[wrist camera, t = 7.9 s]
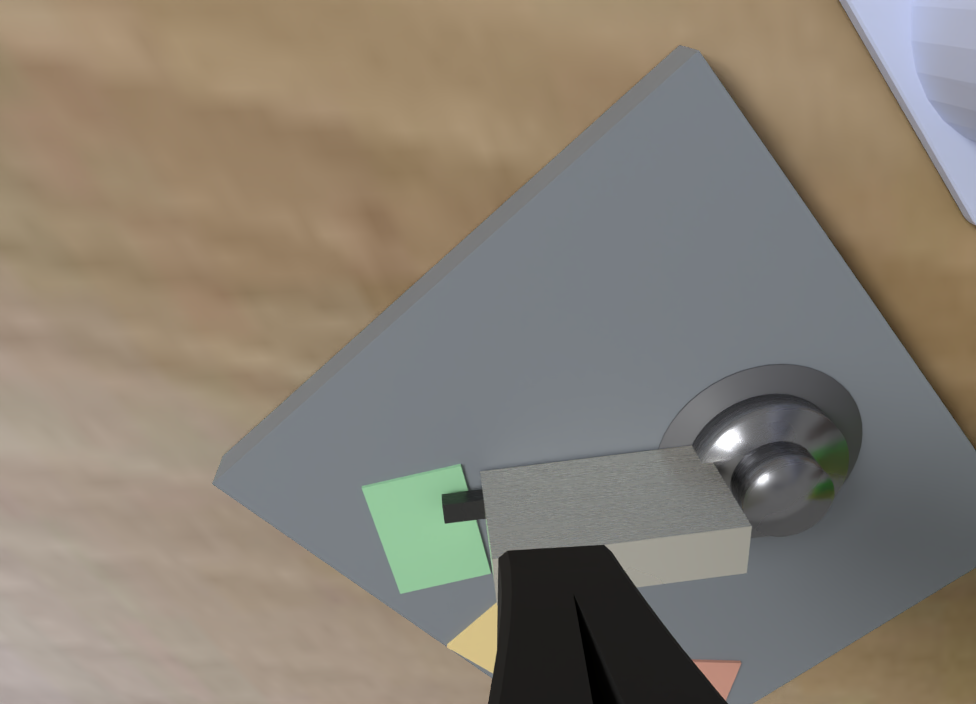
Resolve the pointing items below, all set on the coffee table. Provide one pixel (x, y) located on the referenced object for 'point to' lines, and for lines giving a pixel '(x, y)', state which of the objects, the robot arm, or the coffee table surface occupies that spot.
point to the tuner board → (627, 393)
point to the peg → (673, 495)
